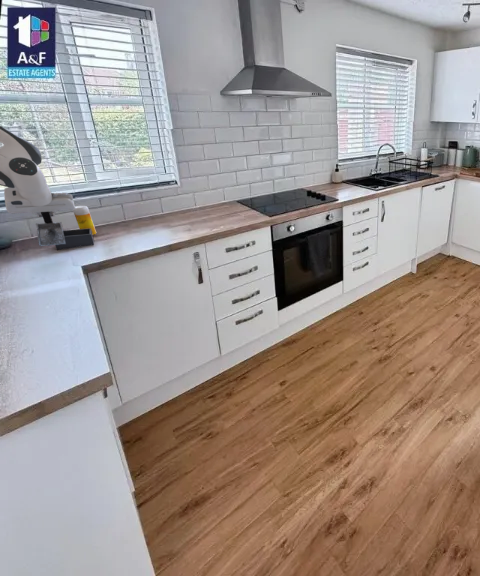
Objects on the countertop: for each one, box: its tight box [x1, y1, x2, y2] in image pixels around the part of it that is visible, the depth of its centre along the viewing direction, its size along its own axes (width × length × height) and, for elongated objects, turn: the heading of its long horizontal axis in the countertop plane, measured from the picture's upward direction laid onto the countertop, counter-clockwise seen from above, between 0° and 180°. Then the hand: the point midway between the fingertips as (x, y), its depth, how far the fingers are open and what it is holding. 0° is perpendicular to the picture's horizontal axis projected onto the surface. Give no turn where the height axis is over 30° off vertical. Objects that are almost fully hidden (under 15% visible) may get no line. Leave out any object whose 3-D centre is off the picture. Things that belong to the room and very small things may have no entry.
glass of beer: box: [72, 205, 97, 236], centre depth 183 cm, size 6×6×15 cm
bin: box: [54, 228, 95, 251], centre depth 169 cm, size 13×13×6 cm
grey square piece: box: [35, 212, 66, 247], centre depth 148 cm, size 13×8×9 cm
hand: (46, 215), depth 150 cm, fingers closed on grey square piece, 2 cm apart
